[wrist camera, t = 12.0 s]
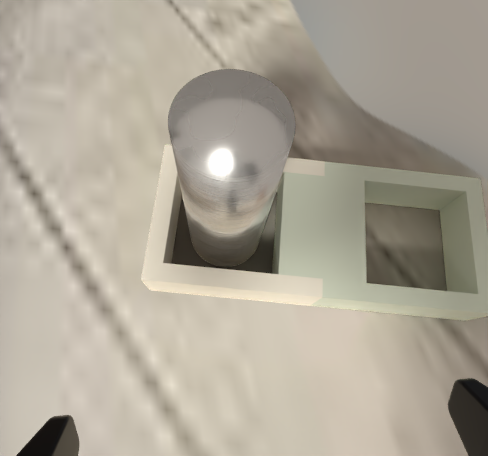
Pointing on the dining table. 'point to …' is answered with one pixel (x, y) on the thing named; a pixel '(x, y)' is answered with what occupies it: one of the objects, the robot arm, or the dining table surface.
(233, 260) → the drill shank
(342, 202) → the board
